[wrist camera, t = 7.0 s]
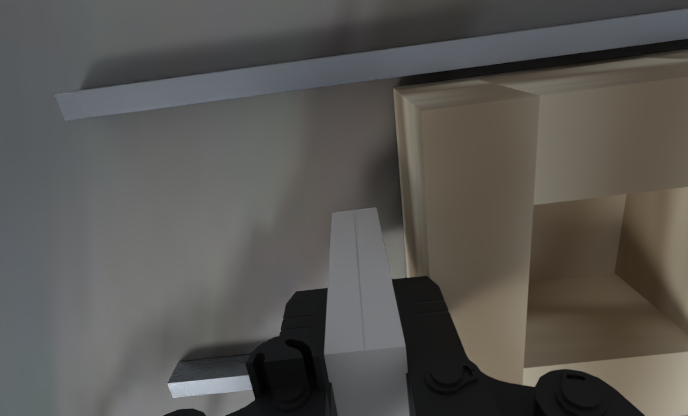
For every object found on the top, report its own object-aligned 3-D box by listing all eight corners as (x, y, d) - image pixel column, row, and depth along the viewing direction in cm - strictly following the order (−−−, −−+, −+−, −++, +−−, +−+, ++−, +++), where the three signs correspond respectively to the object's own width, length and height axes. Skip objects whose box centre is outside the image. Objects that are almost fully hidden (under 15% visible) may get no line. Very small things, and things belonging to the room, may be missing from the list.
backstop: (183, 375, 18) (72, 611, 10) (78, 90, 13) (-260, 150, 6) (718, 320, 17) (1013, 535, 10) (812, -9, 12) (1538, -90, 5)
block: (411, 332, 17) (437, 438, 12) (393, 87, 13) (421, 111, 8) (654, 306, 16) (774, 406, 12) (708, 46, 13) (913, 47, 8)
